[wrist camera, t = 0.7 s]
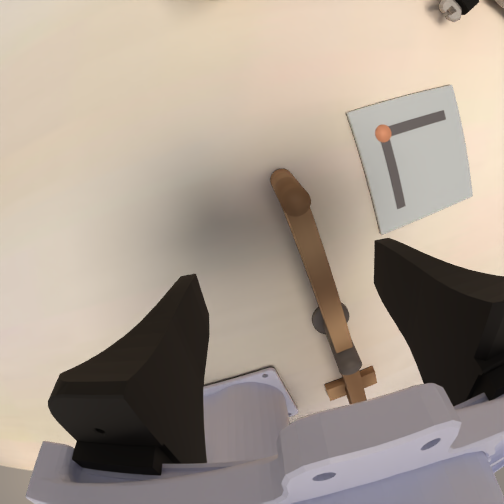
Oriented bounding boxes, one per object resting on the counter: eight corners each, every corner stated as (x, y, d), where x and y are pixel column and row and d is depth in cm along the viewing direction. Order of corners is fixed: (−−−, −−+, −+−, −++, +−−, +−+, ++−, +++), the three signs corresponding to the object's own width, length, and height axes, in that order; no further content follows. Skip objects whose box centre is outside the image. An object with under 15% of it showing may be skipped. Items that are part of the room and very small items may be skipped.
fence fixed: (328, 394, 29) (341, 438, 24) (295, 314, 24) (309, 364, 19) (374, 377, 29) (392, 419, 24) (355, 291, 24) (381, 336, 19)
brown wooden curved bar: (344, 325, 24) (363, 369, 20) (325, 333, 24) (341, 378, 20) (290, 164, 19) (308, 183, 14) (265, 174, 19) (275, 196, 14)
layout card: (380, 233, 22) (382, 235, 21) (345, 112, 18) (347, 112, 18) (470, 195, 21) (473, 196, 20) (449, 84, 17) (452, 84, 17)
